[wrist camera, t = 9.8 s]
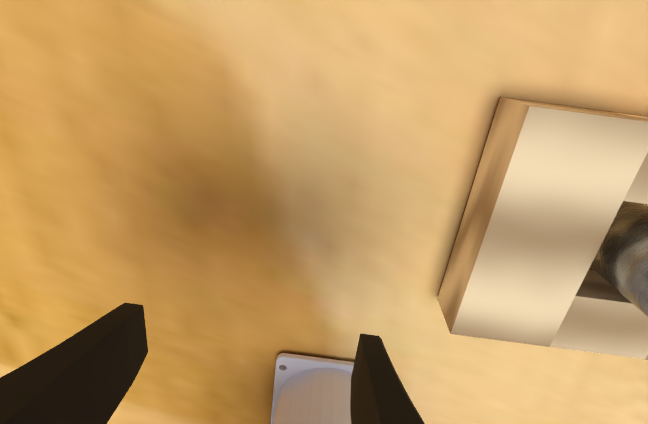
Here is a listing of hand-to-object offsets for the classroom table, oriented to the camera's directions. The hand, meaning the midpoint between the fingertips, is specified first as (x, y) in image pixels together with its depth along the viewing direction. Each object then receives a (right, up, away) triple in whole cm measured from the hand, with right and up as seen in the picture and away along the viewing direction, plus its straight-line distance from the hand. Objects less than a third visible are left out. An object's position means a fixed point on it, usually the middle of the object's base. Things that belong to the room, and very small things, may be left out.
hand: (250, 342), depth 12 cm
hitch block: (+18, +3, +8) cm, 20 cm away
